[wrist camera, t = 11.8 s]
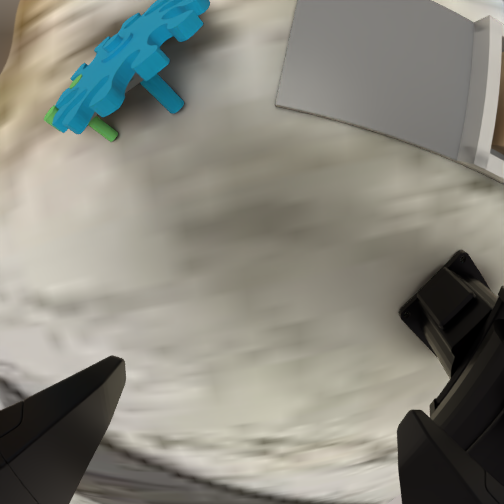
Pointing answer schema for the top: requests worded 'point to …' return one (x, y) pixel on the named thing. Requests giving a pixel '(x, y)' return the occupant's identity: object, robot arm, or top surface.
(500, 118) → the cardboard box
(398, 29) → the gray plate
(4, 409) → the robot arm
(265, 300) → the top surface
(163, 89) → the gear
